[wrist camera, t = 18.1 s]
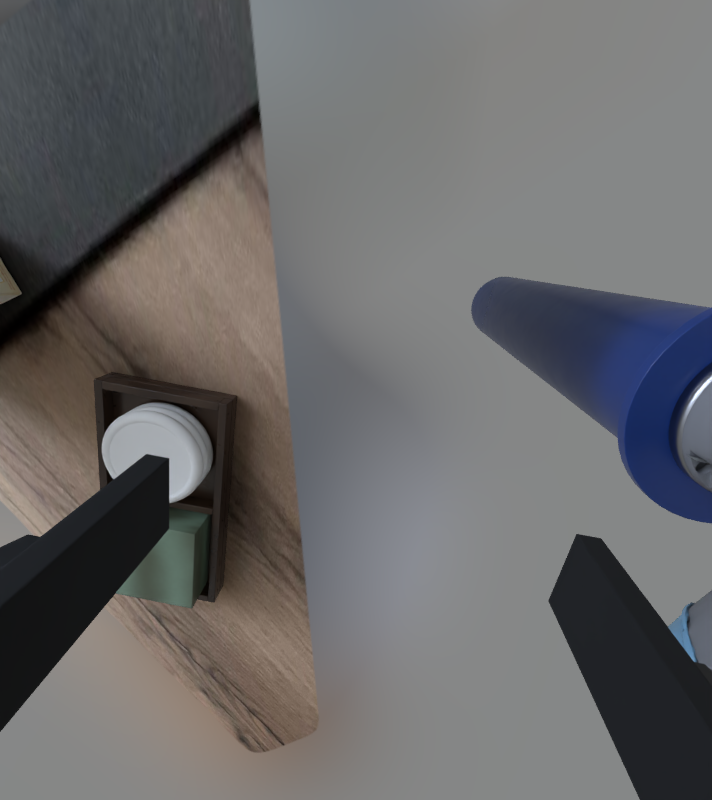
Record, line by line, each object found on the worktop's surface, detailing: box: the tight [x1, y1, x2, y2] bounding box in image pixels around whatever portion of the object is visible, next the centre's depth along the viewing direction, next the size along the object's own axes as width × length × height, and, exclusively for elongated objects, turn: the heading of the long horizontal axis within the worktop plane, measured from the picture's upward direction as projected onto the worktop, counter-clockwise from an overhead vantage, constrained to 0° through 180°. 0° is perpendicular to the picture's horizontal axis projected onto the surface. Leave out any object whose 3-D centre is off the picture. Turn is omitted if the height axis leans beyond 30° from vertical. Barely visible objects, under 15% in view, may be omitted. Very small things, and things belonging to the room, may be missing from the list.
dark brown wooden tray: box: [94, 372, 237, 608], centre depth 42 cm, size 13×25×5 cm, turn 170°
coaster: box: [102, 402, 213, 503], centre depth 40 cm, size 10×10×4 cm
